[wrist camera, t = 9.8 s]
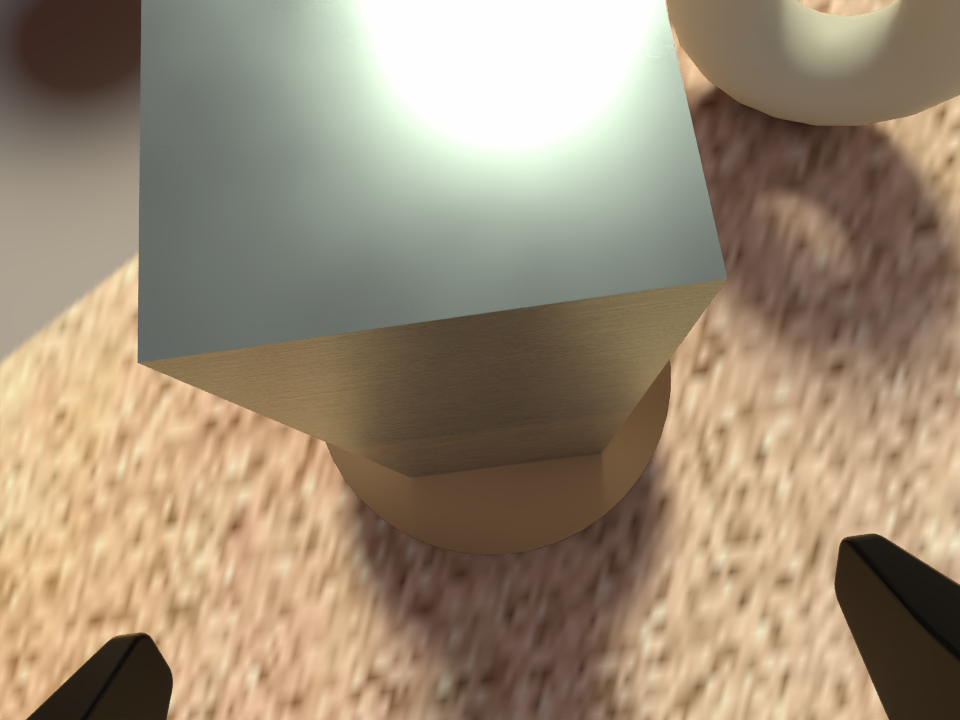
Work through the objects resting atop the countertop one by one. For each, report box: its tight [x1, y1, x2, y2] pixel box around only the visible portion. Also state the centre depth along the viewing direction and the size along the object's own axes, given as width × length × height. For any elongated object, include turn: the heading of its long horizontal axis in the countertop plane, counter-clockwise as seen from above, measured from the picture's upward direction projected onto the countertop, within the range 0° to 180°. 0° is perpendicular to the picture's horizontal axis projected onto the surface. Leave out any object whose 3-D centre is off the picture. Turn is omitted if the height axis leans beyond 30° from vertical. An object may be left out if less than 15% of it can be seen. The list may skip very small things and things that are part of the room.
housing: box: [138, 0, 728, 478], centre depth 13 cm, size 5×5×13 cm
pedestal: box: [326, 359, 671, 555], centre depth 21 cm, size 10×10×4 cm
